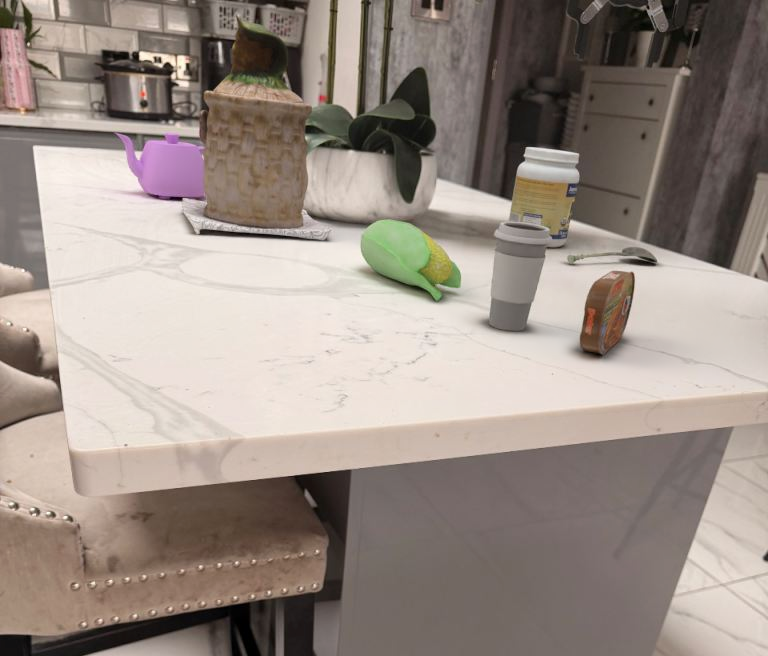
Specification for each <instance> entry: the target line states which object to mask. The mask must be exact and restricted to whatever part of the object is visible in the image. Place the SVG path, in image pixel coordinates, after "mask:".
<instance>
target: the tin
mask: <svg viewBox="0 0 768 656" xmlns="http://www.w3.org/2000/svg"><path fill="white" fill-rule="evenodd" d="M635 287H636V277H635V272H634V271H623V270H610V271H609V272H607V273H606V274H605V275H603V276H602V277H600V278H598V279H596V280H595V281H594V282H593V283H592V285H591V287H590V289H589V291H588V293H587V296H586V300H585V303H584V304H585V305H584V313H583V314H584V315H583V319H582V326H581V331H580V333H579V345H580V348H581V350H583V351H586V352H590V353H596V354H600V355H601V356H604V355H606V353H607V352H608V351H609V350H611V348H613V347H614V346H615V345H616V344H617V343H618V342H619V341H620V340H621V339H622V336H623V335H624V333H625V330H626V327H627V325H628V321H629V318H630V313H631V309H632V305H633V300H634V293H635Z"/></svg>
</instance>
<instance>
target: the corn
mask: <svg viewBox="0 0 768 656" xmlns="http://www.w3.org/2000/svg"><path fill="white" fill-rule="evenodd" d="M360 253H361V255H362V257H363V259H364V261H365V263H367V265H368V266H369V267H370V268H371V269H373V270H374V271H375V272H377V274H379V275H382V276H384V277H386V278H389V279H392V280H394V281H397V282H400V283H403V284H405V285H408V286H414V287H419V288H422V289H424V290H425V291H427V292H428V293H429V294H430V295H431V296H432V297H433V299H434V300H435V301H436V302H437V301H440V299H441V298H442V294H443V293H442V291H441V290H440V288H439V287H437V285H440V286H444V287H447V288H452V289H459V288H461V283H462V273H461V270H460V269H459V267H458V266H457V264H456V262H454V261H452V260H451V258H450V257H449V255H448V253H447V251H446V250H445V249H444V248H443V247H442V246H441V245H440V244H438V242H436V241H434V239H432V238H431V236H429V235H427V234H426V233H425V232H423V230H421V228H419V227H417V226H415V225H413V224H412V223H410V222H405V221H400V220H395V219H389V218H388V219H379V220H377V221H374V222H373V223H371V224H369V226H368V227H366V229H365V230H364V231H363V233H362V234H361V235H360Z"/></svg>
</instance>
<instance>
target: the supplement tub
mask: <svg viewBox="0 0 768 656" xmlns="http://www.w3.org/2000/svg"><path fill="white" fill-rule="evenodd" d="M523 158H524V161H522V162H521V163H519V165H518V166H517V170H516V176H515V182H514V187H513V194H512V199H511V205H510V209H509V210H510V211H509V216H508V221H507V222H523V223H531V224H536V225H541V226H544V227H547V228H549V229H550V236H551V237H552V243H550V244H548V245H547V248H559V247H562V246H563V245H564V244H565V243H566V242H567V239H568V235H569V229H570V225H571V219H572V216H573V215H572V214H573V210H574V205H575V200H576V196H577V191H578V186H579V181H580V171H579V170H578V168H576V166H577V165H578V164H579V159H580V153H577V152H573V151H568V150H560V149H552V148H545V147H532V146H527V147H525V150H524V154H523Z"/></svg>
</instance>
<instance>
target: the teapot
mask: <svg viewBox="0 0 768 656" xmlns="http://www.w3.org/2000/svg"><path fill="white" fill-rule="evenodd" d="M114 134H115V135H117V136H118V137H119V138H120V139H121V141H122V142H123V145H124V148H125V153H126V154H125V155H126V160H127V165H128V168H129V170H130V172H131V173H132V174H133V175H134V177H136V178H137V181H138V183H139V185H140V187H141V189H142V190H143V191H144V192H146V193H147V194H150V195H154V196H158V199H162V200H171V197H175V198H176V197H178V198H187V199H193V200H197V198H198V197H199V198H201V197H204V196H206V195H205V193H204V189H203V165H204V159H203V155H202V153H201V152H204V147H205V146H202V145H199V146H197V145H196V144H194V143H190V142H183V141H179V139H180V134H178V133H174V132H165V133H164V138H165V140H157V139H154V140H153V139H150V140H149V139H148V140H147V141H146V142H145V144H144V147H143V149H142V151H141V154H140V157H139V159H138V158H137V156H136V152H135V148H134V144H133V141H132V139H131V138H130V137H129V136H127V135H125V134H121V133H118V132H114Z"/></svg>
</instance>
